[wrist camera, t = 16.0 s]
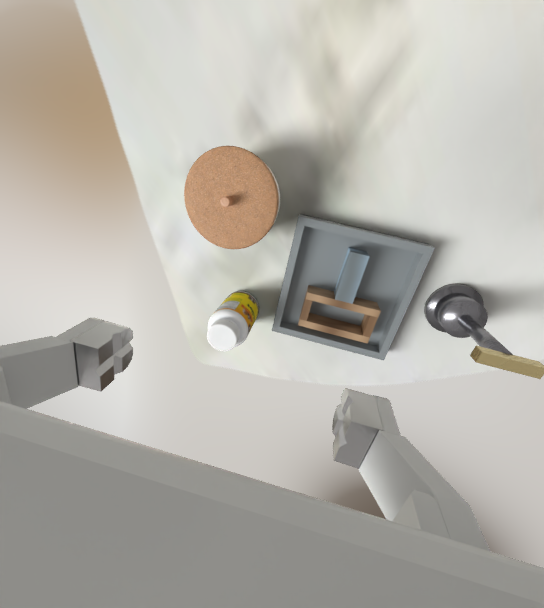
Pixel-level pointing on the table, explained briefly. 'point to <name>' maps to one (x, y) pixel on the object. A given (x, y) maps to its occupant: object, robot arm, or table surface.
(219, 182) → the lidded jar
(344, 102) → the table surface
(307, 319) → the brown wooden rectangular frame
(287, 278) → the tray
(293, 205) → the table surface
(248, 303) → the supplement bottle
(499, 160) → the table surface
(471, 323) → the plunger
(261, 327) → the table surface
